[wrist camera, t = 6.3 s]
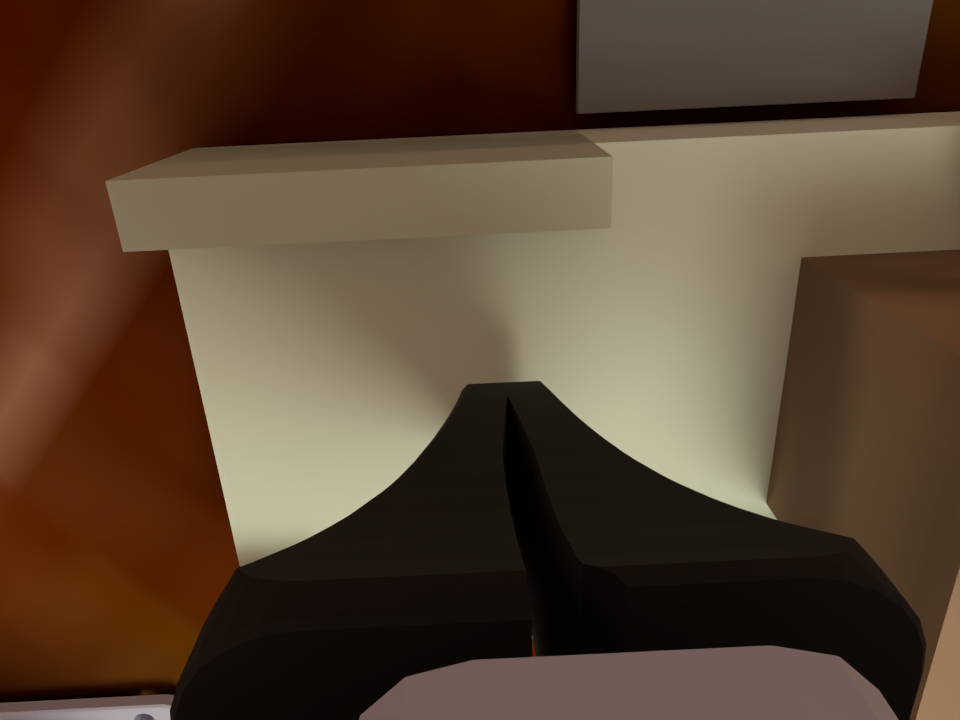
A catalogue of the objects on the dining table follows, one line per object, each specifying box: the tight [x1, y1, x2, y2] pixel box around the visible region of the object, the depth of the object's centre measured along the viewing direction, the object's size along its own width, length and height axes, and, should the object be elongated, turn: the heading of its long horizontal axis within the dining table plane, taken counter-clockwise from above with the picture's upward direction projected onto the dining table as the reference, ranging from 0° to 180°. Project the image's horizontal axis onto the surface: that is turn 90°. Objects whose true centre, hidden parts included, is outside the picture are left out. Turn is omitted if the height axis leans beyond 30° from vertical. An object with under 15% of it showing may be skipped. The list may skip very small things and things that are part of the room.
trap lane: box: [105, 111, 960, 567], centre depth 12 cm, size 17×9×5 cm, turn 92°
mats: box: [532, 0, 933, 639], centre depth 15 cm, size 11×15×1 cm
